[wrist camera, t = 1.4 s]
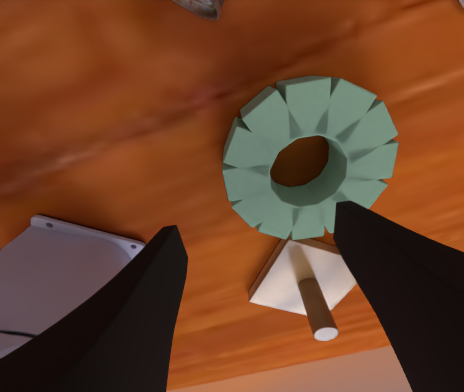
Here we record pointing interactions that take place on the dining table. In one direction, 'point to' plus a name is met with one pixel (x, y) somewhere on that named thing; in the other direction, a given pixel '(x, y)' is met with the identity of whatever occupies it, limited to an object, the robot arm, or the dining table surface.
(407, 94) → the dining table surface
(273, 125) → the ring
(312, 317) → the peg stand
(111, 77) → the dining table surface
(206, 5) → the tin
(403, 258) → the robot arm
